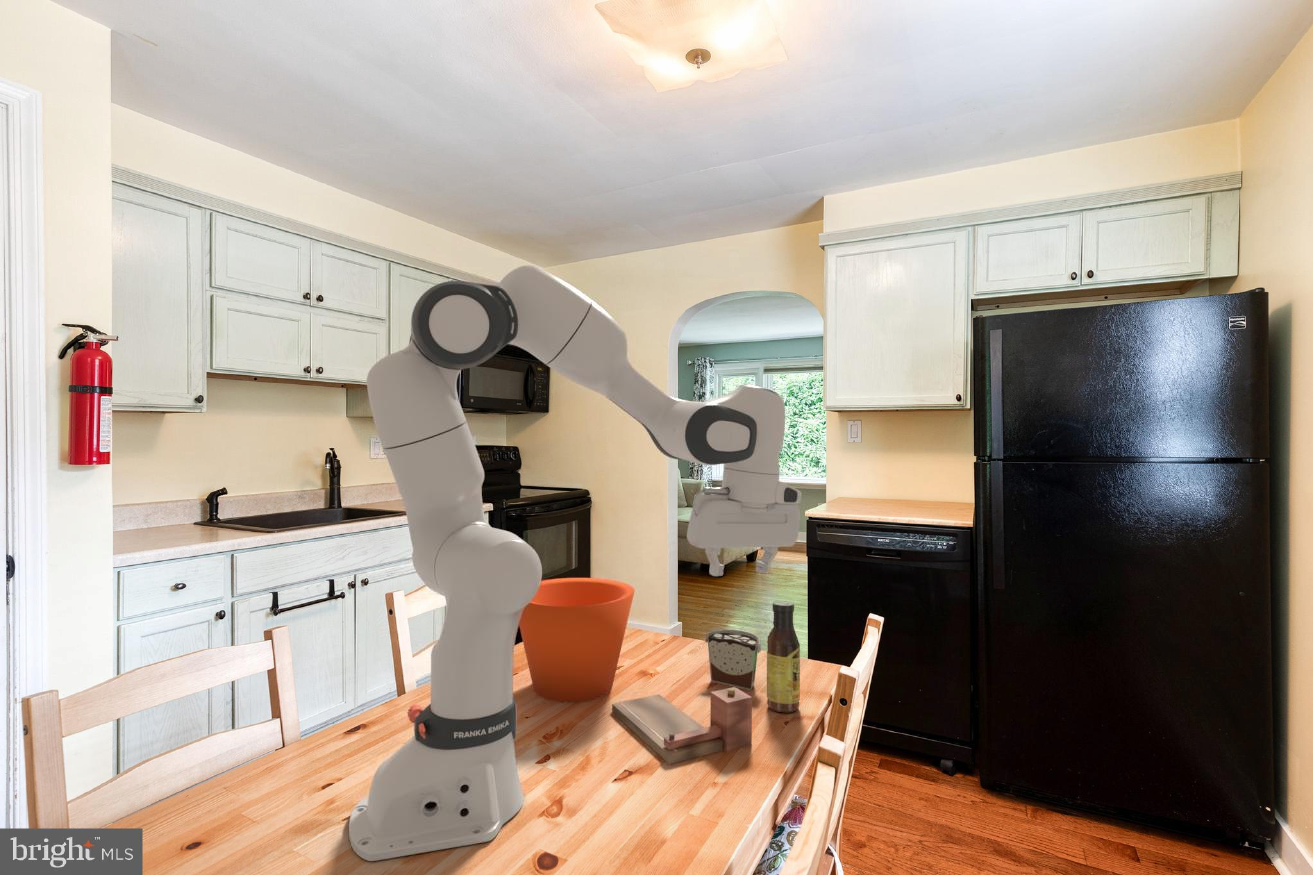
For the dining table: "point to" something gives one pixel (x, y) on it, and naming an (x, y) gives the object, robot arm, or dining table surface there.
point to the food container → (733, 657)
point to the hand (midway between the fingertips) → (739, 573)
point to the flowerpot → (575, 636)
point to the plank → (663, 727)
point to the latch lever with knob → (722, 722)
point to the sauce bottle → (783, 661)
